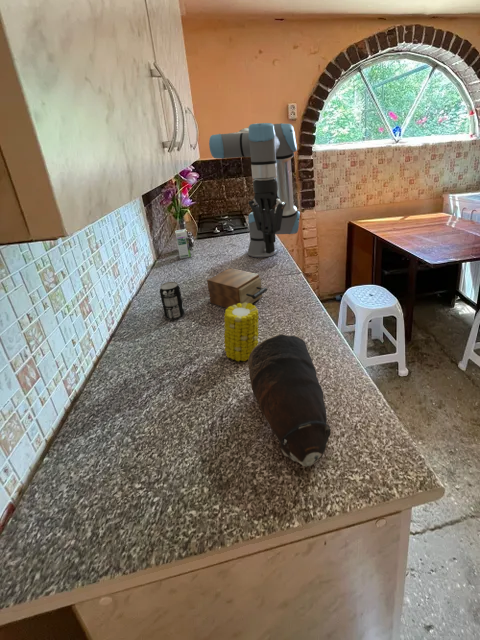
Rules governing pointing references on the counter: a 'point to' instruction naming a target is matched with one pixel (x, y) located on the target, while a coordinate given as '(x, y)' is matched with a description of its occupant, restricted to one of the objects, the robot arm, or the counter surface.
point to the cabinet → (228, 286)
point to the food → (241, 331)
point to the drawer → (251, 291)
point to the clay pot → (290, 396)
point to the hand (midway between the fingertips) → (270, 251)
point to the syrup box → (183, 243)
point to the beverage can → (171, 300)
